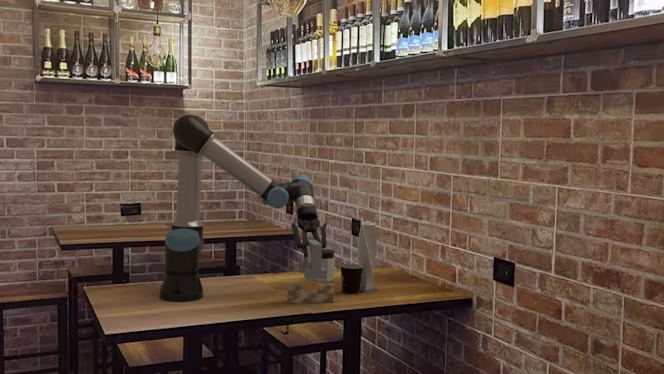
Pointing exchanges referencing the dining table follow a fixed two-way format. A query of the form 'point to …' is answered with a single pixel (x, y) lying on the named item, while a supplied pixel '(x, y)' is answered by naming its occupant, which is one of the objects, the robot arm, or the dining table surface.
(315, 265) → the grey angular block
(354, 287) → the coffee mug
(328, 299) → the brown u-shaped block
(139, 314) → the dining table surface
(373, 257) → the skyscraper
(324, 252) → the jar
